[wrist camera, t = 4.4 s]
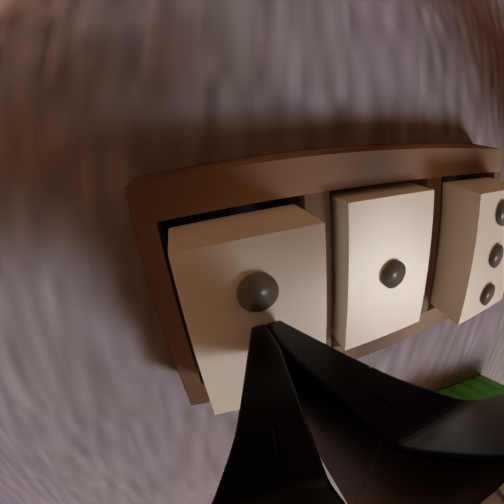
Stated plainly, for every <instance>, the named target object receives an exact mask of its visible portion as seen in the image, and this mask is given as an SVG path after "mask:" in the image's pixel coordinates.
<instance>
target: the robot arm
mask: <svg viewBox="0 0 504 504" xmlns="http://www.w3.org/2000/svg"><path fill="white" fill-rule="evenodd" d="M320 458H321V459H322V461H323V463H324V465H325V466H326V468H327V470H328V471H329V473H330V475H331V477H332V478H333V480H334V482H335V483H336V485H337V487H338V488H339V490H340V492H341V493H342V495H343V497H344V498H345V500H346V502H347V503H348V504H504V394H500V395H496V396H492V397H488V398H484V399H479V400H465V399H459V398H455V397H451V396H448V395H445V394H442V393H438V392H435V391H432V390H429V389H426V388H423V387H420V386H417V385H414V384H411V383H408V382H406V381H403V380H400V379H398V378H395V377H393V376H391V375H389V374H386V373H384V372H382V371H380V370H378V369H376V368H373V367H370V366H369V365H367V364H365V363H363V362H361V361H359V360H357V359H355V358H353V357H351V356H349V355H347V354H345V353H343V352H341V351H339V350H337V349H335V348H333V347H331V346H329V345H327V344H325V343H323V342H321V341H319V340H317V339H315V338H313V337H311V336H309V335H307V334H305V333H303V332H301V331H299V330H297V329H296V328H294V327H292V326H290V325H288V324H286V323H284V322H282V321H274V322H271V323H267V324H266V325H264V324H263V325H259V326H255V327H252V328H251V333H250V340H249V347H248V355H247V362H246V369H245V376H244V383H243V390H242V397H241V404H240V410H239V416H238V422H237V427H236V432H235V437H234V441H233V444H232V448H231V451H230V455H229V457H228V460H227V463H226V466H225V469H224V472H223V475H222V478H221V480H220V483H219V486H218V489H217V492H216V494H215V497H214V499H213V501H212V504H345V502H344V501H343V500H342V499H341V497H340V496H339V495H338V493H337V492H336V491H335V489H334V488H333V486H332V485H331V483H330V481H329V479H328V477H327V475H326V473H325V470H324V467H323V466H322V462H321V459H320Z"/></svg>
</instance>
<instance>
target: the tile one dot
mask: <svg viewBox="0 0 504 504" xmlns="http://www.w3.org/2000/svg"><path fill="white" fill-rule="evenodd" d="M329 193H330V213H331V243H332V326H331V334H332V335H333V336H334V338H335V339H336V340H337V341H338V343H339V344H340V345H341V347H342V348H343V349H344V350H345V351H346V350H349V349H351V348H354V347H357V346H360V345H362V344H365V343H368V342H370V341H373V340H375V339H378V338H380V337H383V336H385V335H388V334H390V333H393V332H395V331H398V330H400V329H402V328H405V327H407V326H410V325H412V324H414V323H416V322H419V319H420V314H421V309H422V303H423V297H424V291H425V285H426V278H427V271H428V264H429V256H430V247H431V236H432V224H433V209H434V190H433V189H430V188H427V187H424V186H420V185H417V184H413V183H410V182H407V181H399V182H391V183H383V184H375V185H368V186H360V187H353V188H346V189H339V190H332V191H329Z"/></svg>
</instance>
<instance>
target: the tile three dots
mask: <svg viewBox="0 0 504 504" xmlns="http://www.w3.org/2000/svg"><path fill="white" fill-rule="evenodd" d="M503 292H504V182H503V181H500V180H496V179H493V178H489V177H486V178H477V179H467V180H458V181H449V182H443V183H442V206H441V221H440V232H439V242H438V251H437V259H436V266H435V273H434V280H433V286H432V292H431V297H430V304H432V305H433V306H434V307H436V308H437V309H438V310H439V311H441V312H442V313H443V314H445V315H446V316H447V317H449V318H450V319H451V320H452V321H454V322H455V323H456V324H458V325H459V324H461V323H463V322H464V321H466V320H468V319H470V318H471V317H473V316H475V315H477V314H478V313H480V312H482V311H483V310H485V309H487V308H488V307H490V306H492V305H493V304H495V303H496V302H498V301H499V300H501V299H502V296H503Z"/></svg>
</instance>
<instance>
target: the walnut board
mask: <svg viewBox="0 0 504 504" xmlns="http://www.w3.org/2000/svg"><path fill="white" fill-rule="evenodd" d="M500 170H501V149H498V148H493V147H487V146H482V145H476V144H454V143H417V144H384V145H364V146H349V147H335V148H324V149H313V150H303V151H294V152H285V153H277V154H269V155H261V156H254V157H247V158H240V159H234V160H228V161H221V162H215V163H210V164H204V165H198V166H193V167H187V168H182V169H177V170H172V171H167V172H162V173H158V174H153V175H148V176H144V177H139V178H135V179H133V180H132V181H131V182H130V183H129V184H128V185H127V186H126V187H125V190H126V195H127V200H128V204H129V209H130V213H131V218H132V222H133V226H134V230H135V234H136V238H137V242H138V246H139V250H140V254H141V257H142V261H143V265H144V268H145V272H146V275H147V279H148V282H149V286H150V289H151V293H152V296H153V299H154V302H155V306H156V309H157V312H158V315H159V318H160V321H161V324H162V327H163V330H164V333H165V336H166V339H167V342H168V345H169V348H170V351H171V353H172V356H173V359H174V362H175V364H176V367H177V370H178V372H179V375H180V378H181V380H182V383H183V385H184V388H185V391H186V393H187V396H188V398H189V400H190V403H191V405H196V404H201V403H206V402H210V399H209V396H208V393H207V390H206V387H205V384H204V381H203V378H202V375H201V372H200V369H199V365H198V362H197V359H196V356H195V352H194V349H193V346H192V343H191V339H190V336H189V332H188V329H187V325H186V322H185V318H184V315H183V311H182V308H181V304H180V300H179V296H178V293H177V289H176V285H175V281H174V277H173V273H172V269H171V265H170V261H169V257H168V246H167V242H166V237H165V233H164V228H163V224H162V221H166V220H170V219H175V218H180V217H185V216H190V215H195V214H200V213H205V212H210V211H215V210H220V209H225V208H231V207H236V206H242V205H247V204H253V203H258V202H264V201H270V200H276V199H282V198H284V200H285V206H286V205H291V204H295V205H296V206H298V207H300V208H301V209H303V210H305V211H306V212H308V213H310V214H311V215H313V216H315V217H316V218H318V219H320V220H321V221H323V222H325V237H326V278H327V324H326V344H327V345H329V346H331V347H333V348H335V349H337V350H339V351H341V352H343V353H345V354H347V355H349V356H351V357H353V358H355V359H357V358H360V357H362V356H365V355H367V354H370V353H372V352H375V351H377V350H380V349H382V348H385V347H387V346H389V345H392V344H394V343H396V342H399V341H401V340H403V339H406V338H408V337H410V336H412V335H415V334H417V333H419V332H421V331H423V330H425V329H427V328H430V327H432V326H434V325H436V324H438V323H440V322H442V321H444V320H446V319H448V318H449V317H447V316H446V315H445V314H443V313H442V312H441V311H439V310H438V309H437V308H436V307H434V306H433V305H432V304H430V297H431V292H432V286H433V283H432V280H433V274H434V267H435V259H436V251H437V242H438V232H439V220H440V205H441V180H442V177H444V176H454V175H465V174H467V179H477V178H486V177H489V178H493V179H496V180H500ZM399 181H407V182H410V183H413V184H417V185H420V186H424V187H427V188H430V189H433V190H434V209H433V224H432V236H431V247H430V256H429V264H428V271H427V278H426V285H425V291H424V297H423V303H422V309H421V314H420V319H419V322H416V323H414V324H412V325H410V326H407V327H405V328H402V329H400V330H398V331H395V332H393V333H390V334H388V335H385V336H383V337H380V338H378V339H375V340H373V341H370V342H368V343H365V344H362V345H360V346H357V347H354V348H351V349H349V350H346V351H345V350H344V349H343V348H342V347H341V345H340V344H339V343H338V341H337V340H336V339H335V338H334V336H333V335H332V334H331V326H332V243H331V213H330V193H329V191H332V190H339V189H346V188H353V187H360V186H368V185H375V184H383V183H391V182H399Z"/></svg>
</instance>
